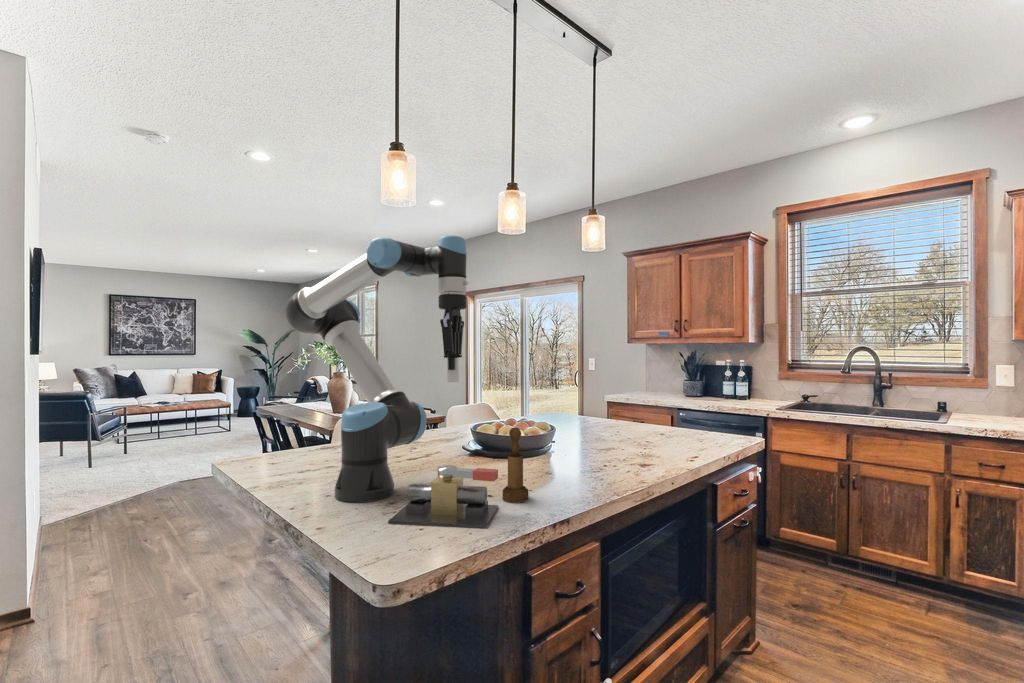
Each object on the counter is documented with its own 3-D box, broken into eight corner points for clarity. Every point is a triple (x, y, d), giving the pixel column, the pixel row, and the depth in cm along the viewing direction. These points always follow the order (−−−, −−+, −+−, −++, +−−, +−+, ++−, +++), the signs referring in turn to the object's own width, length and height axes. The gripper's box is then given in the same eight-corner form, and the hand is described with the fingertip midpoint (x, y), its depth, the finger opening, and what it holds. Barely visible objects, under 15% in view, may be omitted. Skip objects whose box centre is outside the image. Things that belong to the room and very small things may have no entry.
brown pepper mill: (519, 504, 125) (519, 430, 125) (497, 500, 128) (497, 428, 128) (533, 497, 130) (532, 427, 131) (511, 493, 134) (511, 425, 134)
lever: (434, 477, 117) (434, 468, 117) (442, 473, 122) (442, 464, 122) (492, 482, 113) (492, 473, 113) (499, 477, 117) (499, 468, 117)
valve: (388, 523, 112) (388, 485, 112) (410, 503, 126) (410, 470, 126) (486, 528, 109) (486, 489, 109) (498, 507, 122) (498, 472, 123)
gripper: (458, 291, 130) (458, 384, 130) (473, 296, 143) (473, 380, 143) (430, 292, 132) (431, 383, 132) (447, 297, 145) (448, 380, 145)
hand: (453, 381), depth 137 cm, fingers closed
